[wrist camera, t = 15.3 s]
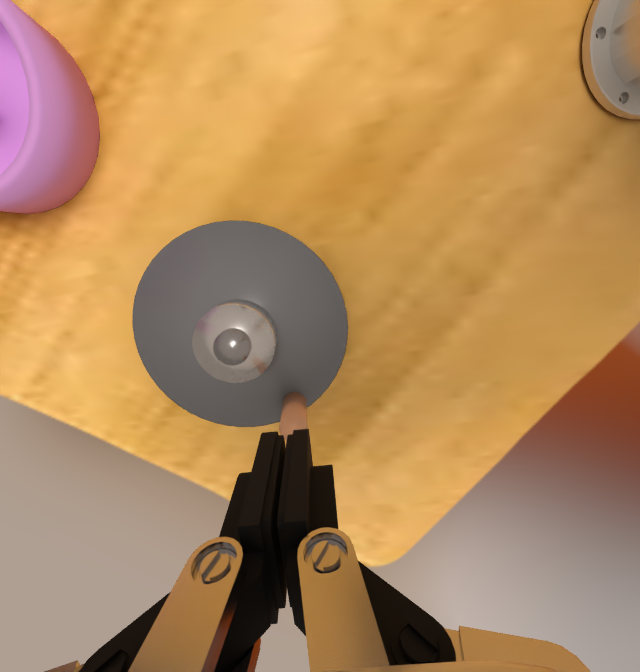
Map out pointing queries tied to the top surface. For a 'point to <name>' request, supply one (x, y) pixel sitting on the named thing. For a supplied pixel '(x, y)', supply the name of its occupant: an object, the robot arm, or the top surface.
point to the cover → (235, 341)
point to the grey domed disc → (253, 285)
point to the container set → (41, 118)
